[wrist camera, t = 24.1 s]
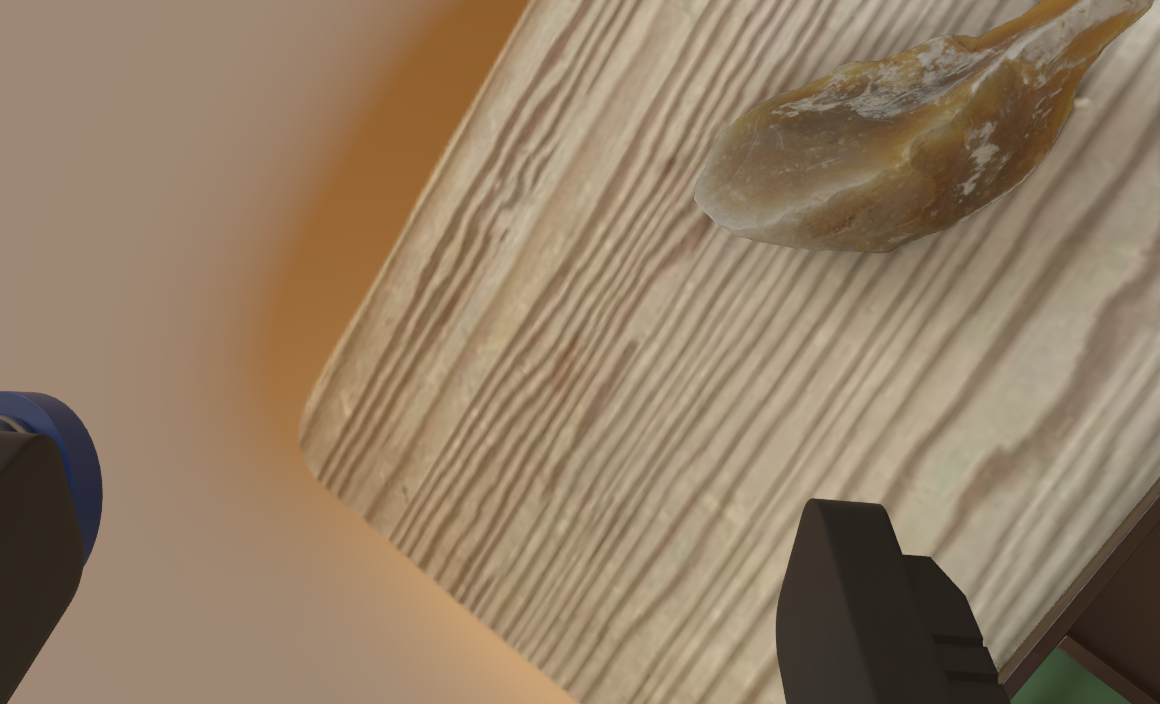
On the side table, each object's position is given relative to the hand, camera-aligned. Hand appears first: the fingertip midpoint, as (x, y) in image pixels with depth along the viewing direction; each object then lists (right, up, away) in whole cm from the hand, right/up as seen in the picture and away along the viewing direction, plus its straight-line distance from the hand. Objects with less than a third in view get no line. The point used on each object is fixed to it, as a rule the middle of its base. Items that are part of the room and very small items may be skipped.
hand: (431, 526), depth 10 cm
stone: (+14, +9, +24) cm, 29 cm away
